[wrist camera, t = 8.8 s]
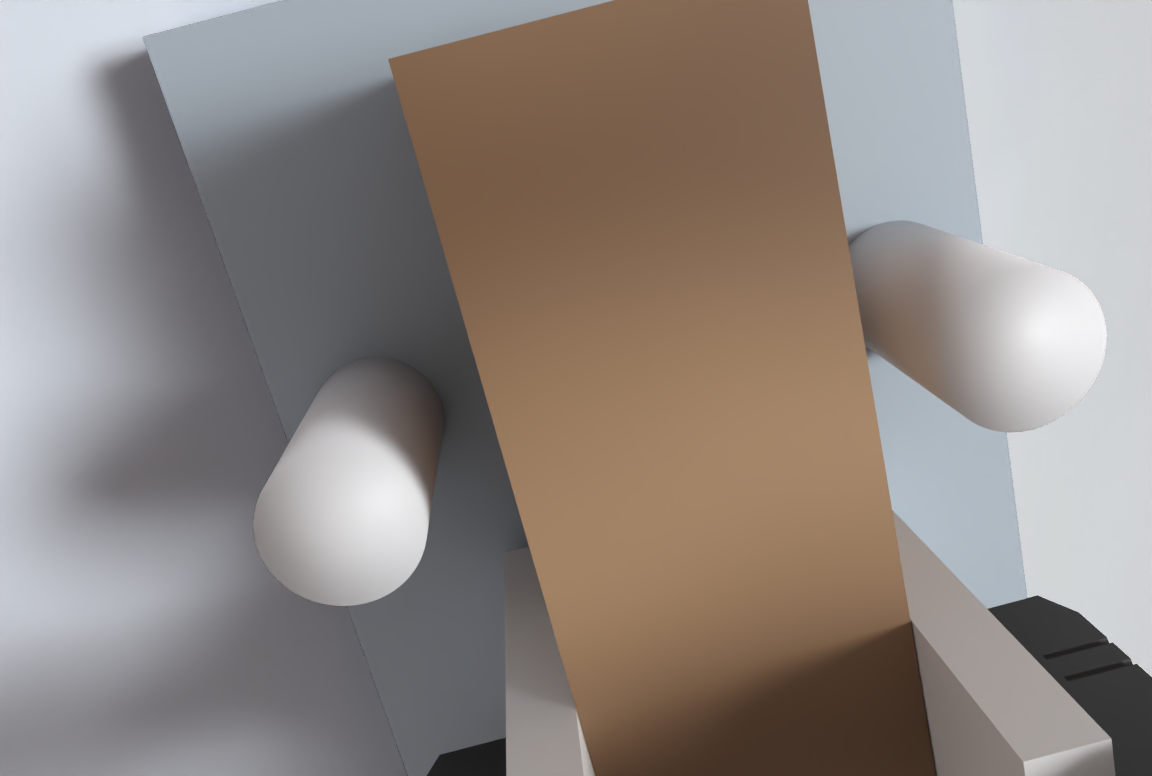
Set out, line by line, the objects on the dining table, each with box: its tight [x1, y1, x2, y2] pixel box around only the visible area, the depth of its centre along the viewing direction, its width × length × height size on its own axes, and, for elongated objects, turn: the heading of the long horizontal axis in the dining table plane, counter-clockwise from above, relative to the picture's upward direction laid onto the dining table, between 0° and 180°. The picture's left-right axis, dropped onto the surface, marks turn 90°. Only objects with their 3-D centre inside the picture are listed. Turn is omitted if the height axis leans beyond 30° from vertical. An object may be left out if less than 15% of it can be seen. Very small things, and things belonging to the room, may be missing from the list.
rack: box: [143, 0, 1107, 776], centre depth 14 cm, size 18×10×5 cm, turn 14°
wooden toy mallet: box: [388, 0, 936, 776], centre depth 13 cm, size 18×6×4 cm, turn 14°
